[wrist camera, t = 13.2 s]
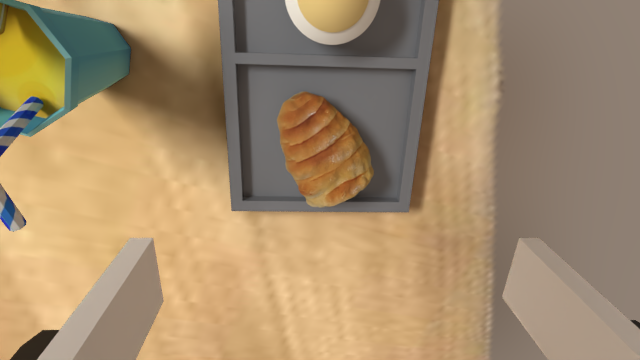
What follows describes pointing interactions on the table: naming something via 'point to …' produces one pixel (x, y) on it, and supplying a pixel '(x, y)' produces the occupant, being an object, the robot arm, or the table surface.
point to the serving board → (324, 90)
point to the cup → (50, 72)
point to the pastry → (322, 150)
